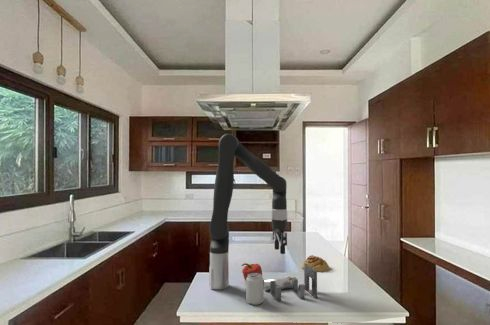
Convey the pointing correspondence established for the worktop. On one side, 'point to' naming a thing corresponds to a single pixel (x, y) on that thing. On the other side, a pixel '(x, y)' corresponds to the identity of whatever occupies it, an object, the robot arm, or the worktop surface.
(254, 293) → the can
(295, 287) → the grey u-shaped bracket
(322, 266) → the pastry
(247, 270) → the vegetable
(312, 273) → the frame
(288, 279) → the tube
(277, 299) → the grey metal blocks
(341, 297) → the worktop surface
